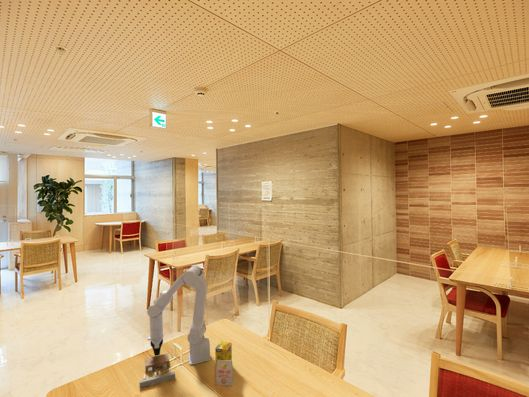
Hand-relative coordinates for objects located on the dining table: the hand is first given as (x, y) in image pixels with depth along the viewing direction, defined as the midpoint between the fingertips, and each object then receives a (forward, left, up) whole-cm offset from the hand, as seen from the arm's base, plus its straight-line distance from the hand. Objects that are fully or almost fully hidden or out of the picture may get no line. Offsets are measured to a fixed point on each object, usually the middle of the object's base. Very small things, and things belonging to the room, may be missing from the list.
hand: (157, 354), depth 133 cm
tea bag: (-26, +30, -1) cm, 40 cm away
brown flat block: (0, +8, -1) cm, 8 cm away
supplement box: (-28, +21, -1) cm, 35 cm away
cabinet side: (0, +17, -1) cm, 17 cm away
